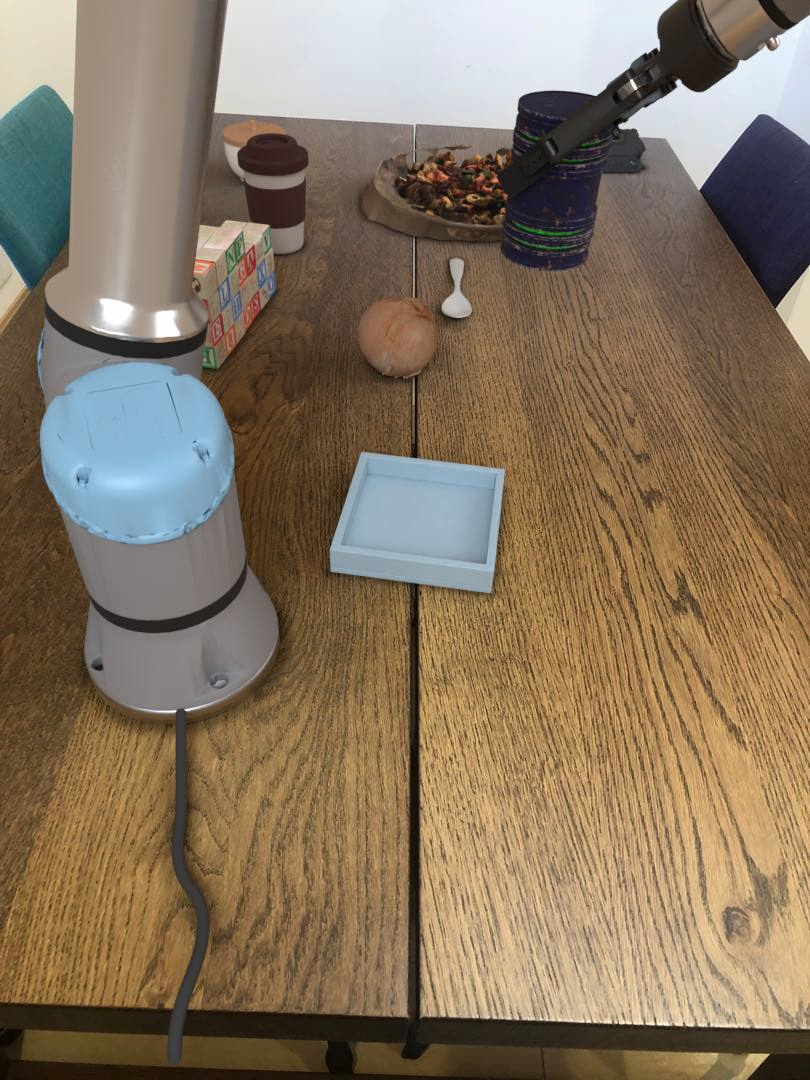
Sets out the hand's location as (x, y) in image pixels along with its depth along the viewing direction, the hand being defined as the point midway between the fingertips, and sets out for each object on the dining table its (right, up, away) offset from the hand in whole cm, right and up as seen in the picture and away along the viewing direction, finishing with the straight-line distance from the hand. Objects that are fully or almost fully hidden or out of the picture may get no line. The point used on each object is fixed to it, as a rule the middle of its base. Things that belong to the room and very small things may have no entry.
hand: (529, 173), depth 86 cm
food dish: (-3, +18, +52) cm, 55 cm away
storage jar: (+2, -7, +4) cm, 9 cm away
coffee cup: (-32, +6, +38) cm, 50 cm away
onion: (-14, -18, +13) cm, 27 cm away
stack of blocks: (-36, -11, +20) cm, 43 cm away
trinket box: (-39, +25, +58) cm, 74 cm away
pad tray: (-12, -38, -8) cm, 40 cm away
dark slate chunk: (+21, +34, +71) cm, 81 cm away
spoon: (-6, -4, +29) cm, 30 cm away
